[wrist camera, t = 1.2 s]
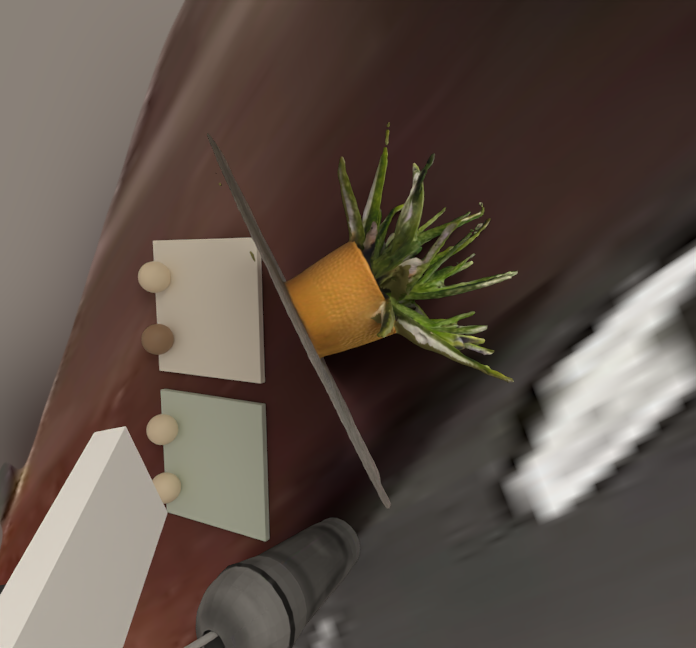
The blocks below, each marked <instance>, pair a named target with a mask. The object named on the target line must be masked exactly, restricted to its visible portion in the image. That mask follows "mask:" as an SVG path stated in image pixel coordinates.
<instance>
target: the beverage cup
mask: <svg viewBox="0 0 696 648" xmlns="http://www.w3.org/2000/svg"><path fill="white" fill-rule="evenodd" d="M359 556H360V543H359V539H358V537H357V535H356V533H355V531H354V530H353V529H352V527H351V526H350V525H349V524H347V523H346V522H345V521H343V520H341V519H338V518H328V519H325V520H323V521H322V522H319V523H317V524H314V525H312V526H310V527H309V528H307V529H305V530H303V531H301V532H299V533H298V534H296V535H294V536H292V537H290V538H289V539H287V540H285V541H283V542H281V543H280V544H278V545H276V546H274V547H272V548H271V549H269V550H267V551H265V552H263V553H262V554H260V555H258V556H256V557H253V558H250V559H247V560H244V561H242V562H239V563H236V564H233V565H229V566H228V567H227V568H226V569H225V570H223V571H222V572H221V573H220V575H219V576H218V577H217V579H216V580H214V581H213V582H212V584H211V585H210V586H209V587H208V588H207V590H206V592H205V593H204V596H203V598H202V600H201V603H200V605H199V608H198V611H197V617H196V634H197V640H196V641H194V642H193V643H191V644H189V645H188V646H186V647H184V648H292V647H293V645H294V644H295V642H296V641H297V639H298V637H299V636H300V634H301V632H302V630H303V628H304V627H305V625H306V624H307V623H308V622H309V621H310V619H311V618H312V617H313V616H314V614H315V613H316V612H317V611H318V610H319V608H320V607H321V606H322V605H323V604H324V602H325V601H326V600H327V599H328V597H329V596H330V595H331V594H332V593H333V591H334V590H335V589H336V588H337V587H338V585H339V584H340V583H341V582H342V580H343V579H344V578H345V577H346V576H347V574H348V573H349V571H350V570H351V568H352V567H353V565H354V564H355V563H356V562H357V560H358V558H359Z"/></svg>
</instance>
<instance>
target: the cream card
mask: <svg viewBox="0 0 696 648" xmlns="http://www.w3.org/2000/svg"><path fill="white" fill-rule="evenodd" d="M250 251H251V252H252V253H253V254H254V257H255V261H254V260H253V259H252V257H251V254H250ZM153 254H154V261H152V262H148V263H146V264H144V265H143V266H142V267H141V268H140V270H139V273H138V281H139V283H140V285H141V286H142V288H143V289H145V290H146V291H148V292H152V293H156V312H157V324H153V325H150V326H149V327H147V328H146V329H145V330H144V332H143V334H142V338H141V341H142V345H143V347H144V348H145V350H146V351H148V352H149V353H151V354H155V355H159V370H160V371H168V372H175V373H183V374H191V375H198V376H206V377H214V378H222V379H229V380H237V381H245V382H253V383H260V384H261V383H264V382H265V366H264V332H263V298H262V265H261V255H260V253H259V251H258V249H257V247H256V245H255V243H254V241H253V239H252V238H223V239H191V240H159V241H153Z"/></svg>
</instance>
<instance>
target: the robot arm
mask: <svg viewBox="0 0 696 648" xmlns="http://www.w3.org/2000/svg"><path fill="white" fill-rule="evenodd" d="M167 513H168V512H167V510H166V508H165V506H164V504H163V502H162V500H161V498H160V496H159V494H158V492H157V490H156V488H155V486H154V484H153V481H152V479H151V477H150V475H149V473H148V471H147V469H146V467H145V465H144V463H143V461H142V459H141V457H140V455H139V453H138V451H137V448H136V446H135V444H134V442H133V440H132V438H131V436H130V434H129V432H128V430H127V428H126V426H124V427H119V428H114V429H109V430H104V431H99V432H94V434H93V435H92V437H91V439H90V441H89V442H88V444H87V446H86V448H85V449H84V451H83V453H82V454H81V456H80V458H79V460H78V461H77V463H76V465H75V467H74V468H73V470H72V472H71V473H70V475H69V477H68V479H67V480H66V482H65V484H64V486H63V487H62V489H61V491H60V492H59V494H58V496H57V498H56V499H55V501H54V503H53V505H52V506H51V508H50V510H49V511H48V513H47V515H46V517H45V518H44V520H43V522H42V524H41V525H40V527H39V529H38V530H37V532H36V534H35V536H34V537H33V539H32V541H31V543H30V544H29V546H28V548H27V549H26V551H25V553H24V555H23V556H22V558H21V560H20V562H19V563H18V565H17V567H16V568H15V570H14V572H13V574H12V575H11V577H10V579H9V581H8V582H7V584H5V585H0V648H123V645H124V642H125V639H126V636H127V633H128V630H129V627H130V624H131V621H132V618H133V615H134V612H135V609H136V606H137V603H138V600H139V597H140V594H141V591H142V588H143V585H144V582H145V579H146V576H147V573H148V570H149V567H150V564H151V561H152V558H153V555H154V552H155V549H156V546H157V543H158V540H159V537H160V534H161V531H162V528H163V525H164V522H165V519H166V516H167Z"/></svg>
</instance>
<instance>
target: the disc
mask: <svg viewBox="0 0 696 648" xmlns="http://www.w3.org/2000/svg"><path fill="white" fill-rule="evenodd" d="M389 126H390V123H388V124H387V127H389ZM207 136H208V139H209V142H210V144H211V146H212V149H213V151H214V154H215V156H216V159H217V162H218V164H219V166H220V168H221V170H222V173H223V175H224V177H225V179H226V181H227V184H228V185H229V188H230V190H231V192H232V195H233V197H234V200H235V202H236V204H237V207H238V209H239V211H240V212H241V215H242V217H243V220H244V222H245V223H246V225H247V227H248V230H249V232H250V235H251V237H252V239H253V241H254V243H255V245H256V247H257V249H258V251H259V253H260V255H261V257H262V260H263V261H264V263H265V265H266V267H267V269H268V271H269V274H270V276H271V279H272V281H273V283H274V285H275V288H276V290H277V291H278V293H279V295H280V298H281V300H282V303H283V304H284V306H285V309H286V311H287V314H288V316H289V317H290V319H291V321H292V323H293V325H294V327H295V330H296V332H297V334H298V335H299V337H300V340H301V342H302V344H303V346H304V348H305V350H306V352H307V354H308V357H309V359H310V361H311V363H312V364H313V366H314V368H315V370H316V372H317V374H318V376H319V378H320V379H321V381H322V383H323V385H324V387H325V389H326V391H327V393H328V394H329V397H330V399H331V401H332V403H333V405H334V407H335V409H336V411H337V414H338V415H339V417H340V420H341V422H342V423H343V425H344V427H345V429H346V431H347V433H348V436H349V438H350V440H351V441H352V443H353V445H354V447H355V449H356V452H357V453H358V455H359V458H360V459H361V461H362V463H363V466H364V468H365V470H366V471H367V473H368V475H369V478H370V480H371V481H372V483H373V485H374V487H375V488H376V490H377V492H378V495H379V497H380V499H381V501H382V503H383V504H384V505H385V507H386V508H388V509H389V508H390V505H391V503H390V500H389V498H388V496H387V495H386V493H385V491H384V489H383V487H382V485H381V482H380V475H379V472H378V469H377V468H376V465H375V463H374V461H373V459H372V457H371V455H370V453H369V451H368V449H367V447H366V445H365V442H364V441H363V439H362V437H361V435H360V433H359V431H358V429H357V427H356V425H355V423H354V421H353V418H352V416H351V413H350V411H349V409H348V407H347V405H346V403H345V401H344V399H343V397H342V395H341V393H340V391H339V389H338V387H337V385H336V383H335V381H334V379H333V377H332V375H331V373H330V371H329V369H328V367H327V365H326V363H325V360H324V358H323V357H324V356H327V355H331V354H335V353H339V352H342V351H345V350H348V349H351V348H355V347H358V346H361V345H364V344H367V343H370V342H373V341H376V340H378V339H381V338H385V337H387V336H389V335H392V334H395V333H398V334H401V335H402V336H404V337H405V338H407V339H408V340H410V341H411V342H412V343H414V344H416V345H417V346H419V347H421V348H423V349H426V350H430V351H433V352H436V353H439V354H441V355H443V356H445V357H447V358H449V359H451V360H454V361H456V362H458V363H461V364H464V365H466V366H470V367H473V368H475V369H478V370H480V371H482V372H484V373H485V374H487V375H491V376H494V377H496V378H499V379H501V380H505V381H507V382H511V383H512V382H513V379H511V378H509V377H506V376H504V375H503V374H501V373H499V372H497V371H494V370H491V369H490V368H489V366H487V365H486V366H485V365H482V364H480V363H478V362H477V361H475V360H473V359H471V358H468V357H467V356H465V355H463V354H462V353H461V352H460V351H459V350H463V349H464V347H465V348H467V349H470V350H474V351H476V352H479V353H481V354H484V355H486V354H489V355H490V354H492V353H493V352H494V350H490V349H486V348H483V347H481V346H479V344H483V343H484V342H485V339H482V338H477V337H474V336H465V335H458V334H475V333H478V332H482V331H484V330H486V329H487V326H485V325H482V326H481V325H475V326H458V325H457V321H458V320H460V319H463V318H466V317H469V316H472V315H473V314H475V312H474V311H473V312H469V313H465V314H461V315H457V316H455V317H452V318H449V319H429V318H428V317H427V315H426V314H425V313H424V311H423V310H422V309H421V308H420V307H419V305H417V304H416V303H415V302H414V301H415V300H412V299H416V300H417V299H433V298H442V297H446V296H452V295H456V294H461V293H465V292H468V291H472V290H475V289H479V288H482V287H487V286H490V285H493V284H495V283H499V282H501V281H503V280H507V279H511V278H512V276H514V275H516V274H517V273H518V272H517V271H512V272H507V273H503V274H497V275H494V276H490V277H485V278H481V279H478V280H473V281H470V282H461V283H459V284H454V285H450V286H445V285H444V280H445V279H446V278H447V277H449V276H451V275H454V274H455V273H457V272H460V271H461V270H463V269H466V268H468V267H469V266H470V265H472V264H473V261H471V262H467V260H468V259H470V258H472V257H473V256H474V255H475V254H472V255H471V256H469V257H467V258H466V259H465V260H464V261H462V262H461V263H460V264H458V263H457V264H458V265H456V266H455V267H453V266H448V267H445V268H442V269H441V270H438V271H436V270H437V269H438V268H439V267H440V265H441V264H442V263H443V262H445V261H446V260H447V259H448V258H449V257H450V256H452V255H454V254H455V253H457V252H459V251H460V250H462V249H463V248H464V247H466V246H467V245H468V244H469V243H471V242H472V241H473V240H474V239H475V238H476V237H478V236H479V234H480V232H481V231H482V230H483V229H485V228H486V227H487V225H488V224H489V222H490V220H491V219H488V220H486V221H485V222H484V224H482V223H481V224H478V225H477V226H476V228H475V230H477V231H476V232H474V234H473V235H472V236H471V237H470V235H471V234H472V233H469V234H468V235H467V236H466V237H465V238H463V239H462V240H460V241H459V242H458V243H457V244H456V245H455V246H451V247H448V248H447V249H446V250H445V251H443V252H440V253H438V254H437V252H439V250H440V248H441V247H442V246H443V245H444V243H445V241H446V240H447V239H448V238H449V236H450V234H451V233H452V232H453V231H454V230H455V229H456V228H457V227H460V226H462V225H463V224H465V223H467V222H469V221H472V220H474V219H477V218H479V217H481V216H482V215H483V213H484V208H482V209H481V211H480V212H479V213H477V214H473V215H470V216H468V215H469V214H470V213H471V212H467V214H465V215H463V216H460V217H458V218H456V219H454V220H453V221H451V222H449V223H446V224H444V225H441V226H438V227H435V228H432V229H429V230H427V231H423V230H424V229H425V228H427V227H428V226H429V225H430V224H432V223H433V222H434V221H435V220H436V219H437V218H438V216H440V215H441V214H442V213H443V212H445V209H446V207H445V208H443V209H442V211H441V212H439V213H438V214H437V215H436V216H434V217H433V218H432V219H431V220H429V221H428V222H427V223H426V224H424V225H423V226H421V227H420V228H419V229H418V227H419V224H420V220H421V216H422V210H423V203H424V187H423V180H424V177H425V175H426V173H427V169H429V168H430V166H431V165H432V164H433V161H434V157H435V154H434V153H433V154H432V155H431V156H430V157H429V159H428V161H427V164H426V165H425V167H424V168H423V169H422V171H421V172H420V170H419V168H418V166H417V165H416V164H415V163H413V186H412V189H411V191H410V195H409V197H408V198H407V200H406V202H405V204H404V205H403V204H402V205H399V206H396V207H395V208H394V209H392V210H391V211H390V213H389V214H388V216H387V217H386V219H385V220H384V221H383V222H382V224H381V225H380V223H381V218H382V213H381V210H380V203H381V199H382V190H383V185H384V181H385V174H386V168H387V163H388V160H387V157H388V153H387V148H386V147H384V149H383V154H382V155H381V158H380V161H379V165H378V168H377V171H376V174H375V178H374V181H373V184H372V188H371V191H370V194H369V197H368V200H367V204H366V207H365V209H364V213H363V217H362V220H361V215H360V213H359V209H358V206H357V202H356V199H355V196H354V193H353V191H352V188H351V184H350V181H349V178H348V175H347V173H346V167H345V160H344V158H343V157H340V162H339V168H338V178H339V182H340V187H341V196H342V202H343V206H344V210H345V215H346V219H347V225H348V230H349V242H348V243H346V244H344V245H343V246H341V247H339V248H337V249H336V250H335V251H333V252H331V253H330V254H328V255H327V256H325V257H324V258H322V259H320V260H319V261H317V262H316V263H315V264H313V265H312V266H310V267H309V268H307V269H306V270H304V271H303V272H302V273H300V274H299V275H297V276H295V277H294V278H292V279H290V280H288V281H286V279H285V277H284V276H283V274H282V272H281V270H280V268H279V266H278V264H277V262H276V260H275V258H274V256H273V254H272V252H271V250H270V248H269V246H268V245H267V243H266V241H265V239H264V237H263V235H262V233H261V231H260V229H259V227H258V225H257V223H256V220H255V218H254V216H253V214H252V212H251V209H250V207H249V205H248V203H247V202H246V200H245V198H244V196H243V194H242V192H241V190H240V188H239V186H238V184H237V182H236V181H235V179H234V177H233V175H232V172H231V170H230V168H229V166H228V164H227V162H226V159H225V157H224V155H223V153H222V152H221V151H220V149H219V147H218V146H217V144H216V143H215V141H214V140H213V139H212V138H211V136H210V135H209V134H208V133H207ZM388 138H389V130H388V129H387V130H386V139H385V143H386V145H388ZM216 174H217V173H216ZM219 185H220V186H221V183H219ZM479 205H480V206H481V207H483V203H482V202H481V203H479ZM401 209H402V210H401ZM400 210H401V213H400V215H399V218H398V221H397V224H396V228H395V232H394V233H392V234H391V235H390V236H389V238H388V240H387V242H386V243H385V241H384V240H385V237H386V233H387V230H388V227H389V225H390V222H391V220H392V217H393V216H394V214H395V213H396V212H398V211H400ZM473 231H474V230H472V229H471V230H470V232H473ZM439 235H441V236H440V237H439V238H438V239H437V241H436V242H435V243H434V244H433V246H432V247H431V248H430V250H429V252H428V253H427V254H426V255H425V256H424V258H423V259H421V260H420V259H419V258H413V257H414V256H415V255H417V254H418V253H419V252H420V251H421V250H422V247H420V246H421V245H423V244H424V243H426V242H428V241H430V240H431V239H433V238H435V237H437V236H439ZM469 237H470V238H469ZM392 240H393V241H392ZM390 243H391V244H390ZM389 244H390V246H389V248H388V245H389ZM250 254H251V257H252V259H253V260H254V261H255V257H254V254H253V253H252V252H251V251H250ZM466 262H467V263H466ZM427 269H428V270H427ZM426 270H427V271H426ZM425 271H426V272H425ZM424 272H425V274H424V276H422V274H423V273H424ZM421 276H422V277H421ZM438 287H440V288H438ZM472 343H473V344H472ZM474 344H477V345H474ZM458 349H459V350H458Z"/></svg>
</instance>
